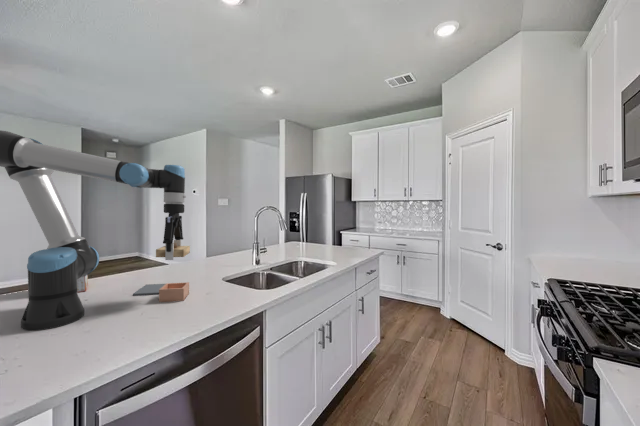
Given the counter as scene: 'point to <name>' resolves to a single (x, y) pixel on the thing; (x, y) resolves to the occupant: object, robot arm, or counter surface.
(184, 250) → the lid
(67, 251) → the robot arm
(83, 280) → the cracker box
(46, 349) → the counter surface
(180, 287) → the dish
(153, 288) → the plate
